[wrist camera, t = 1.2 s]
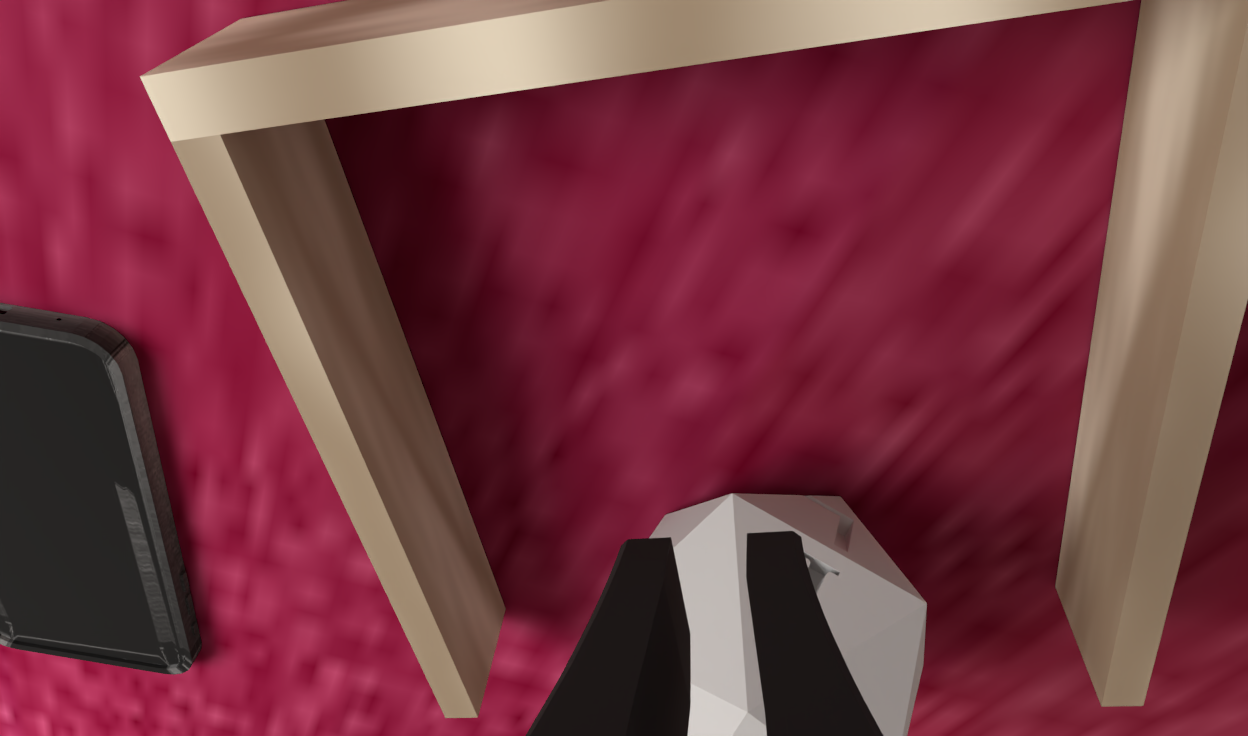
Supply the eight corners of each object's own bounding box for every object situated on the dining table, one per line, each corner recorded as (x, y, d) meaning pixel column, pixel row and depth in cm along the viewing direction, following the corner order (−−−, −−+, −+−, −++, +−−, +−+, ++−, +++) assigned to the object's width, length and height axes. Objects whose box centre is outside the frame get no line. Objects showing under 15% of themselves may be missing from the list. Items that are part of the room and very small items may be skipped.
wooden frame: (1224, -151, 15) (1355, -122, 12) (1091, 585, 26) (1143, 705, 23) (241, 18, 19) (140, 76, 16) (476, 609, 29) (445, 717, 26)
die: (961, 554, 27) (1037, 640, 17) (824, 795, 27) (825, 1003, 18) (722, 423, 28) (674, 436, 19) (598, 653, 29) (492, 776, 20)
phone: (-16, 643, 32) (-179, 291, 23) (5, 618, 33) (-146, 270, 24) (199, 679, 32) (117, 342, 23) (214, 653, 33) (140, 318, 24)
